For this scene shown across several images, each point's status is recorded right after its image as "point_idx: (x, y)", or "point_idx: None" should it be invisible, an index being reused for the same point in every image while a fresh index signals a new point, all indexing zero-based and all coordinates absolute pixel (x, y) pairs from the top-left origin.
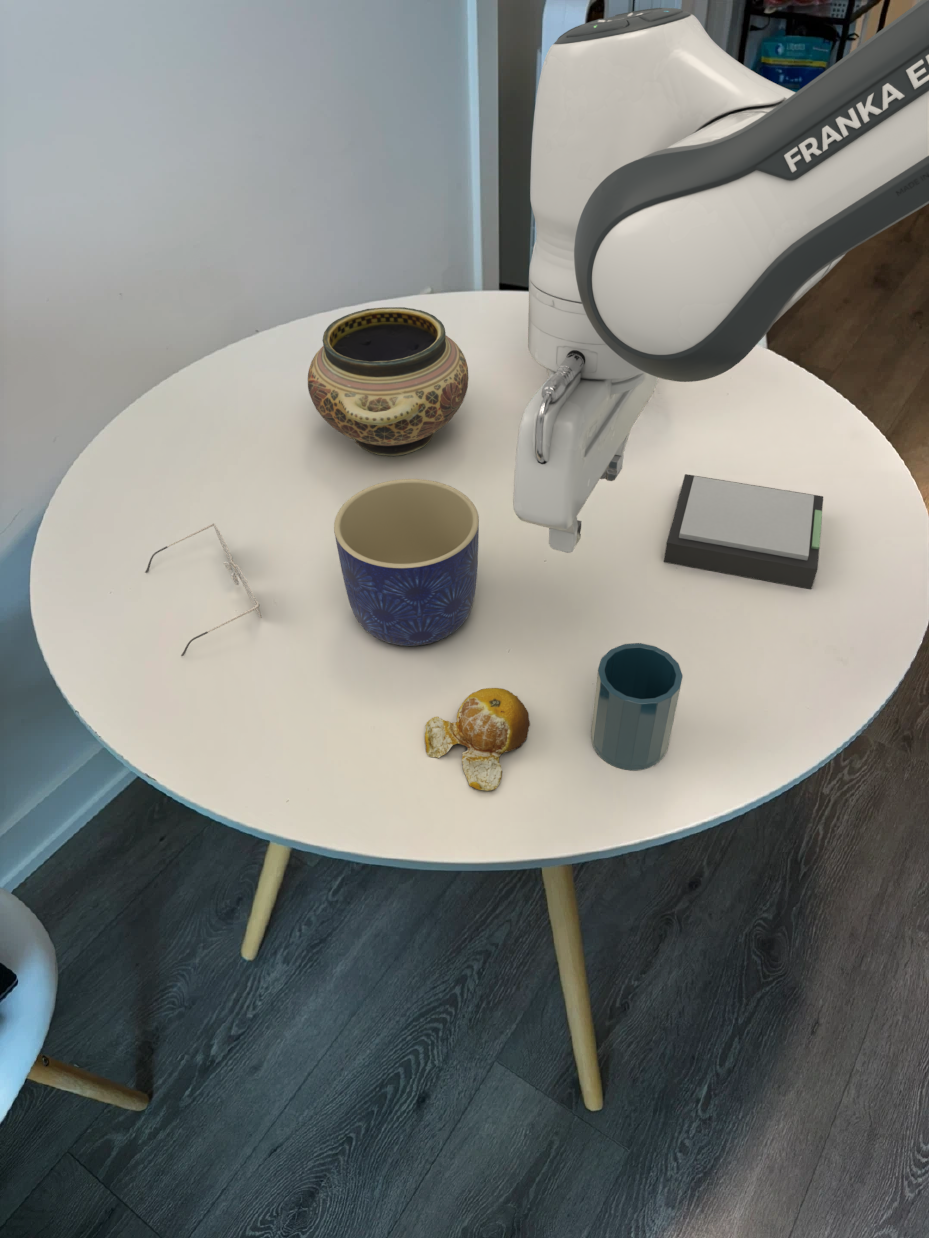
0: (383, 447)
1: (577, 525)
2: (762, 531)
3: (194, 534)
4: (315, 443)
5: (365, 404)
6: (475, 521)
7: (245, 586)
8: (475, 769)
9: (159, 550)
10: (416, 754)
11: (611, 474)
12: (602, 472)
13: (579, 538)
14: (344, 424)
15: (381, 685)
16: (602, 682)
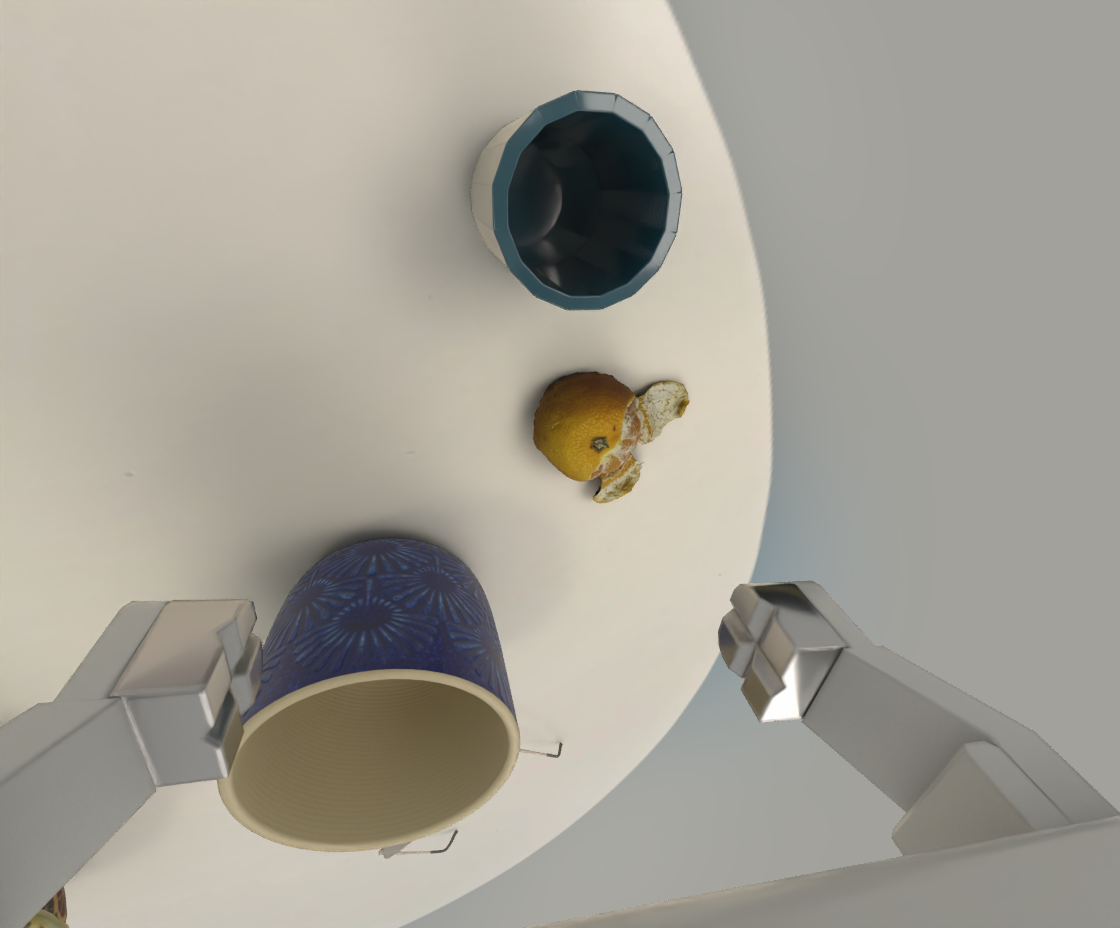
0: None
1: (871, 662)
2: None
3: (402, 852)
4: None
5: None
6: (319, 690)
7: None
8: (656, 418)
9: (438, 852)
10: (638, 491)
11: (238, 634)
12: (982, 912)
13: (762, 590)
14: (61, 918)
15: (540, 572)
16: (635, 291)
